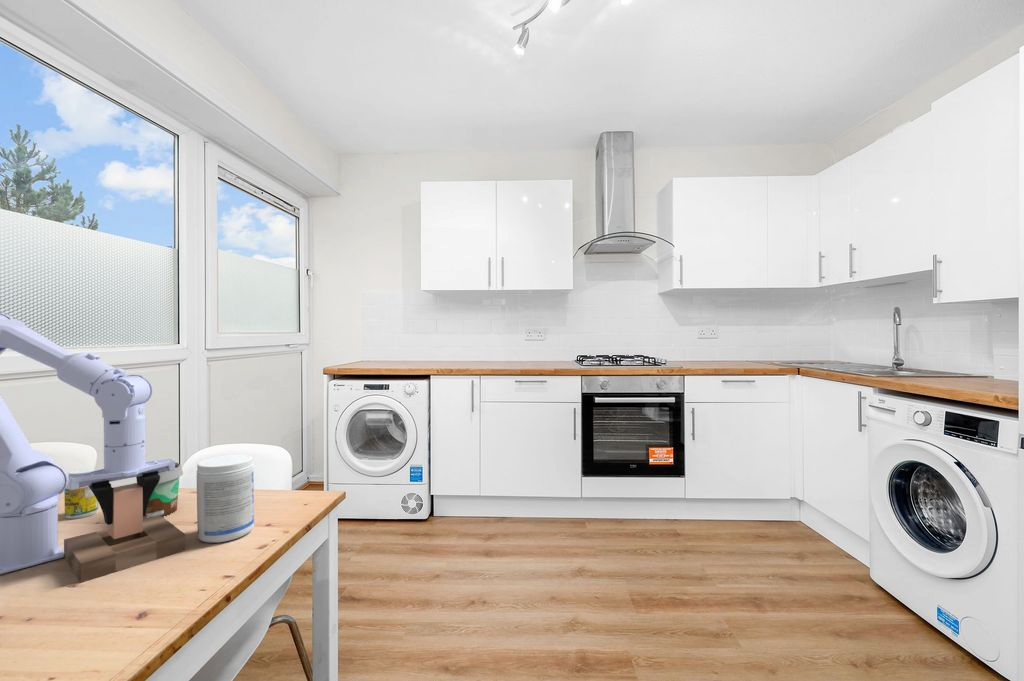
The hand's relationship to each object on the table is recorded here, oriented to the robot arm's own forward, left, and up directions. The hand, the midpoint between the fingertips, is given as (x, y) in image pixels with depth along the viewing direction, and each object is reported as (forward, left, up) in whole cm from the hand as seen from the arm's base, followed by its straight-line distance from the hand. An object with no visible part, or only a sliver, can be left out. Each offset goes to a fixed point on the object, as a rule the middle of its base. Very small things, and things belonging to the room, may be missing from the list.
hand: (125, 518), depth 82 cm
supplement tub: (+5, +14, -6) cm, 17 cm away
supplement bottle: (-30, -1, -6) cm, 31 cm away
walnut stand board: (0, 0, -6) cm, 6 cm away
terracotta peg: (0, 0, -2) cm, 2 cm away
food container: (-18, +11, -6) cm, 22 cm away
